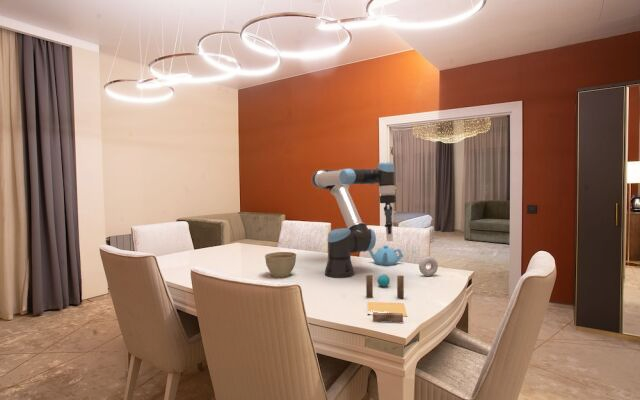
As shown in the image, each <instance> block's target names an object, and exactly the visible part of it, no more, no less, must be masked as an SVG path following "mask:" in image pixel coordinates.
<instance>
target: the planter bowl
mask: <svg viewBox="0 0 640 400" xmlns="http://www.w3.org/2000/svg"><path fill="white" fill-rule="evenodd" d="M264 257H265V258H264V259H265V264H266V267H267V269H268V271H269V272H270V273H271V276H272V277H273V278H286V277H289V276H291V272H292V271H293V270H294V268H295V265H296V263H297V262H296V260H297V259H296V258H297V253H295V252H291V251H277V252H270V253H266V254H265V255H264Z"/></svg>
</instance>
